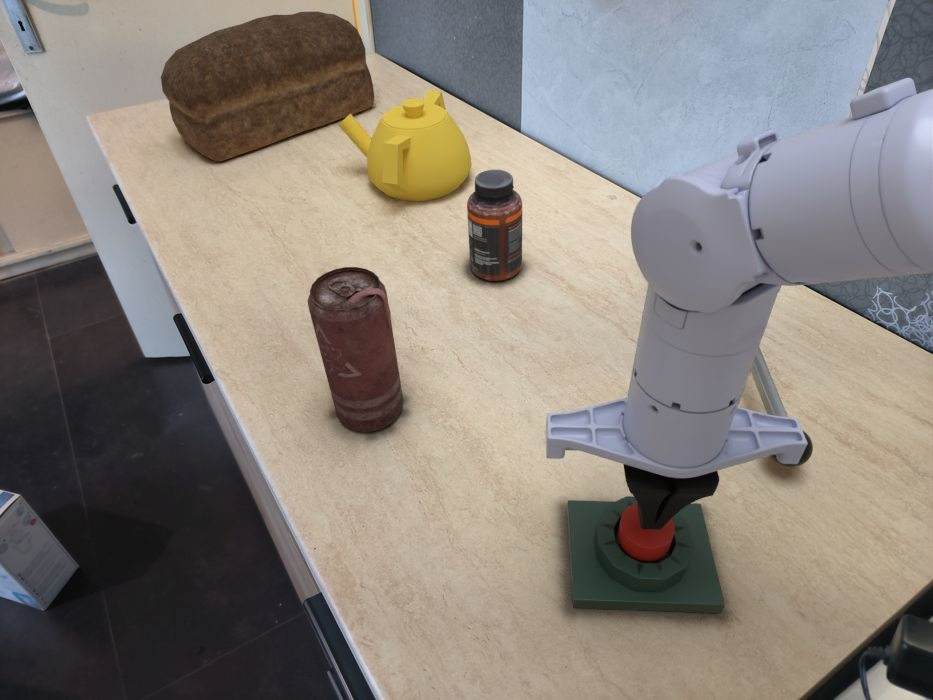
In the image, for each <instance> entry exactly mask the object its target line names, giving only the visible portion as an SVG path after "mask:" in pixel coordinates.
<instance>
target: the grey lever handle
mask: <svg viewBox="0 0 933 700" xmlns="http://www.w3.org/2000/svg"><path fill="white" fill-rule="evenodd" d="M750 373H751V377H752V379H753V381H754V384H755V387H756V389H757V392H758V395H759V397H760V400H761V402H762V404H763V407H764V410H765V412H766V414H769V415H774V416H781V417H789V416H788V413H787V411H786V408H785V406H784V404H783V401H782V398H781V396H780V394H779V392H778V390H777V389H778V388H777V387H776V383H775V381H774V380H773V377H772V375H771V372H770V370H769V366H768V365H767V362H766V360H765V357H764V355H763V353H762V350H761V348H760V346H759V348H758V350H757V353H756V356H755V359H754V361H753V364H752V367H751V370H750ZM802 431H803V433H804V435H805V438H806V440H807V443H808V444H807V446H806V448H805V450H804V452H803V454H802V456H801V458H800V460H799V462H798V464H783V463H780V462H779V461H778V460H777V457H776V455H770V458H771V459H772V460H773V461H774V462H775V463H777V464H778V465H780V466H782V467H786V468H797V467H800V466H802V465H804V464H806V463H807V462H808V461H810V458H811V457H812V454H813V450H814V446H813V441H812V438H811V437H810V435H809V434H808V433H807V432H806V431H804V430H803V429H802Z"/></svg>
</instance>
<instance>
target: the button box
mask: <svg viewBox="0 0 933 700" xmlns="http://www.w3.org/2000/svg"><path fill="white" fill-rule="evenodd" d="M636 503H637V500H636V499H635V497H634V496H633V495H631V496H629V495H626V496H625V497H622V498H620V499H618V500H616V501H611V500H610V501H608V500H607V501H604V500H575V499H574V500H572V499H569V500H567V503H566V516H567V534H568V535H567V536H568V551H569V563H570V564H569V567H570V583H571V596H572V597H571V598H572V608H574V609H596V610H597V609H599V610H623V611H625V610H626V611H648V612H649V611H651V612H653V611H654V612H676V613H678V612H680V613H703V614H705V613H706V614H722V612H723V610H724V608H725V607H726V604H725V599H724V596H723V591H722V588H721V583H720V580H719V575H718V571H717V567H716V563H715V558H714V554H713V549H712V546H711V541H710V537H709V533H708V528H707V524H706V521H705V516H704V511H703V509H702V508H703V507H702V504H701V503H691V504H689V505H687V506H686V507H684V508H683V509H681V510H680V511H679V512H678V513H677V514H675V515H674V516H673V517H672V518H671V519H672V521H673V523H674V528H675V530H674V536H673V539H672V542H671V545H670V548H669V551H668V552H667V554H666V555H665V556H664V557H662V558H661V559H659V560H656V561H641V560H638V559H635V558H633V557H631V556H630V555H629V554H627V553H626V552H625V551H624V550H623V548H622V547H621V545H620V543H619V540H618V529H619V525H620V520H621V516H622V514H623V512H624V511H625V509H626V508H628V507H629V506H631V505H633V504H636Z"/></svg>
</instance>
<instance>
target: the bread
mask: <svg viewBox="0 0 933 700" xmlns="http://www.w3.org/2000/svg"><path fill="white" fill-rule="evenodd" d="M358 30H359V29H358V28H357V27H356V26H355V25H353V24H352V23H351V22H350V21H349V20H347V19H345V18H344V17H343V18H342V17H341V16H338V15H336V14H335V13H326V12H322V11H318V10H317V11H316V10H315V11H299V12H295V13H292V14H270V15H266V16H261V17H257V18H253V19H252V20H249V21H245V22H243V23H241V24H237V25H233V26H228V27H225V28H221V29H218V30H215V31H212V32H211V33H209V34H207V35H204V36H202V37H200V38H199V39H196V40H194V41H192V42H190V43H188V44H185V45H184V46H182V47H180V48H178V49H176V50H175V52H173V53H172V55H171V56H170V57H169V58H168V59H167V60H166V61H165V63H164V66H163V69H162V72H161V76H160V81H161V90H162V93H163V94H164V96H165V97H166V99H167V101H168V105H169V112H170V116H171V120H172V122H173V124H174V126H175V127H176V130H177V132H178V133H179V135H180V137H181V138H182V139H183V141H185V142H186V143H188V145H190V146H191V147H192V148H193V149H195V150H196V151H197V152H199V153H200V154H201V155H202V156H204V157H205V158H207V159H210V160H212V161H214V162H223V161H226V160H230V159H232V158H234V157H237V156H239V155H242V154H246V153H248V152H251V151H254V150H257V149H260V148H263V147H266V146H269V145H271V144H274V143H276V142H279V141H281V140H284V139H286V138H289V137H293V136H294V135H297V134H299V133H302V132H305V131H308V130H312V129H314V128H318V127H322V126H325V125H327V124H330V123H333V122H336V121H338V120H342V119H345V118H346V117H347V116H348V115H350V114H351V115H352V116H354V115H355V114H358V113H360V112H363V111H365V110H368V109H370V108H371V107H373V106H374V105H375V104H374V103H375V91H374V84H373V80H372V75H371V72H370V69H369V67H368V64H367V57H366V56H367V55H366V47H365V44H364V41H363V39H362V36H361V35H360V33H359V31H358Z"/></svg>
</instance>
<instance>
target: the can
mask: <svg viewBox="0 0 933 700" xmlns="http://www.w3.org/2000/svg"><path fill="white" fill-rule="evenodd" d="M307 306H308V307H307V308H308V311H309V314H310V319H311V322H312V326H313V330H314V334H315V338H316V341H317V345H318V350H319V353H320V357H321V360H322V363H323V364H322V365H323V369H324V373H325V376H326V379H327V384H328V386H329V391H330V394H331V395H330V396H331V399H332V403H333V406H334V410H335V414H336V417H337V418H338V420H339V421H340V422H341V423H342V424H343V425H344V426H346V427H347V428H349V429H350V430H352V431H353V430H354V431H357V432H361V433H366V432H368V433H369V432H370V433H371V432H376V431H380V430H383V429H384V428H386V427H388V426H390V425H391V424H392V423H393V422H394V421H396V420H397V418H398V417H399V415H400V414H401V412H402V410H403V405H404V396H403V389H402V383H401V382H402V381H401V377H400V370H399V363H398V356H397V350H396V344H395V343H396V342H395V337H394V332H393V324H392V317H391V309H390V305H389V298H388V292H387V288H386V286H385V284H384V283H383V282H382V280H380V278H379V276H378V275H377V274H376V273H375V272H374V271H372V270H369V269H367V268H364V267H360V266H344V267H339V268H335V269H332V270H329V271H326V272H325V273H323V274H322V275H320V276H319V277H317V278H316V279H315V280H314V281H313V283H312V284H311V286H310V290H309V295H308V298H307Z"/></svg>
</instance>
